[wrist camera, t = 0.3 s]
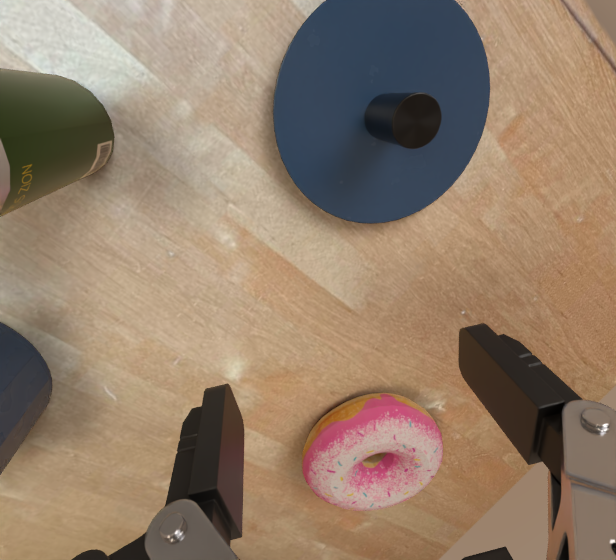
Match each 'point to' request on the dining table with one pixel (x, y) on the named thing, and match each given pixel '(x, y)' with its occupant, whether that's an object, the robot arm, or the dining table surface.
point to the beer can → (47, 136)
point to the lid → (381, 105)
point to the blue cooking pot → (20, 390)
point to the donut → (372, 452)
